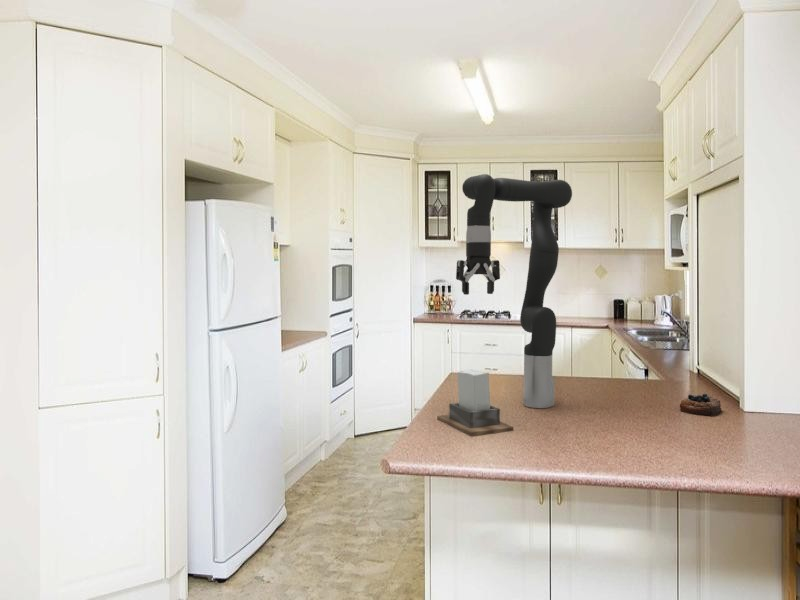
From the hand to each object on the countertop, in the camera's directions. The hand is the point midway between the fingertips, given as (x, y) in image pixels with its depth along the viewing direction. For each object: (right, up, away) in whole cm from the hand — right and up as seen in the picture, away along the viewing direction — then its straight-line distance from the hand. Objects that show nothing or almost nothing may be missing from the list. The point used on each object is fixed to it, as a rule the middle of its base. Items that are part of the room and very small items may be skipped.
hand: (478, 294), depth 185 cm
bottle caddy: (-2, -39, -7) cm, 39 cm away
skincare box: (-2, -38, -8) cm, 39 cm away
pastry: (+73, -38, +8) cm, 83 cm away
